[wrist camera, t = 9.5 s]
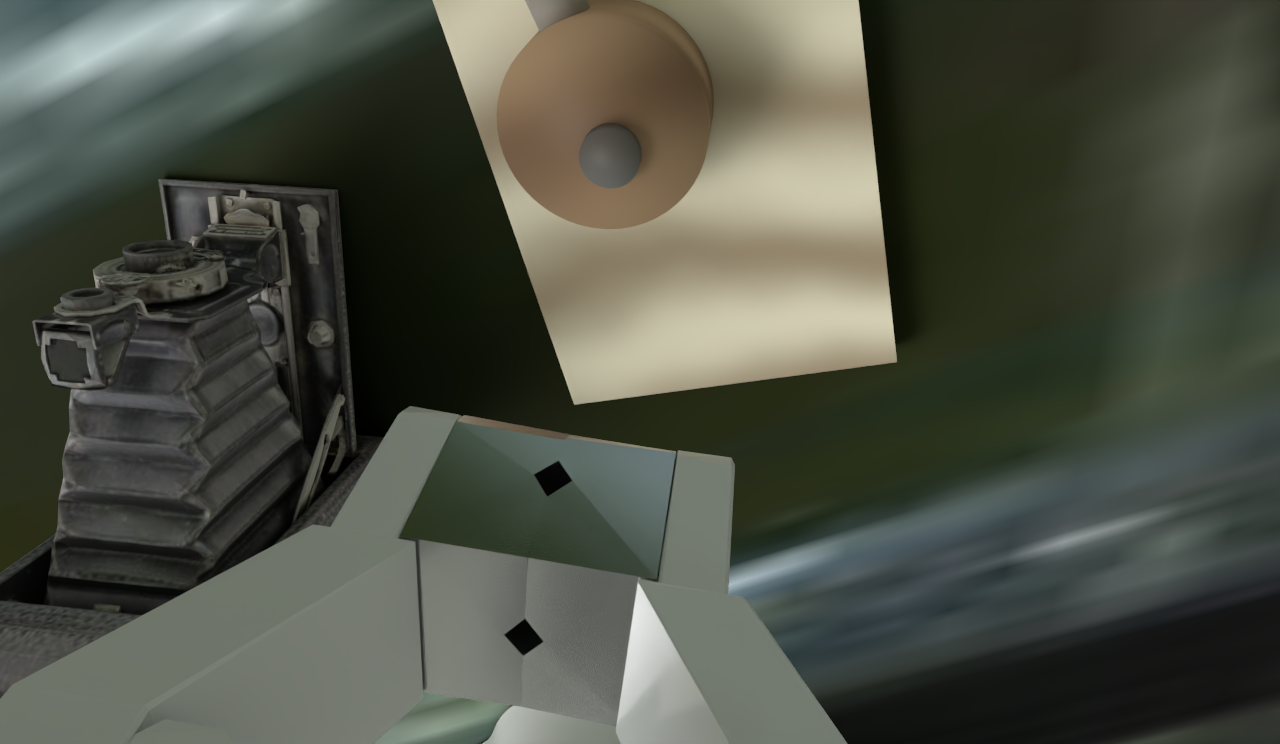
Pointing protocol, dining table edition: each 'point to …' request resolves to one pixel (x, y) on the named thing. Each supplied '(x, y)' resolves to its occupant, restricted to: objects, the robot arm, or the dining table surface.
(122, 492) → the camera
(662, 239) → the board
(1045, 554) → the dining table surface
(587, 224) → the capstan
